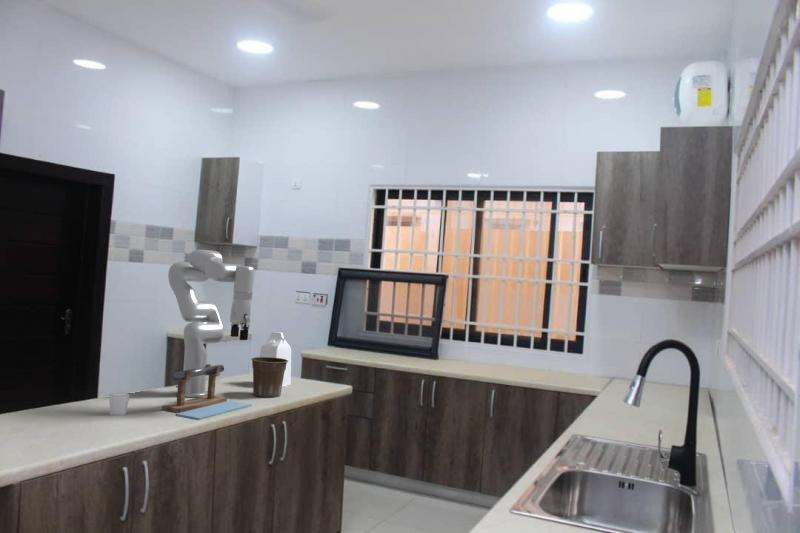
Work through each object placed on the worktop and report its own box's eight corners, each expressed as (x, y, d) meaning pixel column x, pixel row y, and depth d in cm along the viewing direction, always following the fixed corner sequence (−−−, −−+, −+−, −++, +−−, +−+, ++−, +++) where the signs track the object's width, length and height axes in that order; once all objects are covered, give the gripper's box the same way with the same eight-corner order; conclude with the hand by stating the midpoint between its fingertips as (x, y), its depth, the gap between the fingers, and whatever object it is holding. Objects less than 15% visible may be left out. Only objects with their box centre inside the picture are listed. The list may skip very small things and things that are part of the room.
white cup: (106, 415, 228) (107, 395, 228) (109, 411, 235) (111, 392, 235) (126, 415, 230) (128, 396, 230) (129, 411, 237) (130, 392, 237)
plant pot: (289, 393, 292) (292, 358, 292) (279, 400, 276) (282, 363, 276) (255, 390, 293) (258, 355, 294) (243, 396, 277) (246, 360, 278)
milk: (290, 385, 312) (294, 333, 313) (274, 388, 302) (278, 333, 303) (272, 382, 318) (276, 330, 319) (256, 384, 309) (260, 331, 309)
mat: (175, 415, 235) (175, 413, 235) (229, 402, 264) (229, 400, 264) (199, 419, 231) (199, 418, 231) (251, 405, 260) (251, 404, 260)
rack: (161, 409, 243) (164, 370, 243) (209, 398, 268) (212, 362, 269) (180, 413, 239) (183, 372, 239) (226, 401, 265) (229, 365, 265)
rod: (176, 381, 240) (178, 373, 240) (170, 378, 242) (172, 370, 241) (223, 372, 266) (225, 366, 266) (217, 370, 267) (219, 363, 267)
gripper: (226, 294, 261) (222, 335, 261) (241, 297, 247) (237, 341, 247) (243, 294, 265) (239, 335, 265) (259, 298, 251) (256, 341, 251)
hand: (238, 338), depth 256 cm, fingers open, 9 cm apart
